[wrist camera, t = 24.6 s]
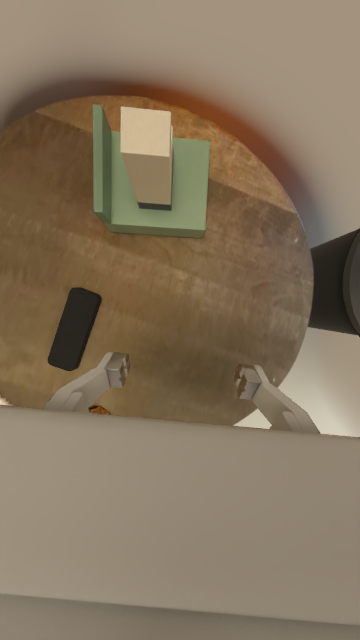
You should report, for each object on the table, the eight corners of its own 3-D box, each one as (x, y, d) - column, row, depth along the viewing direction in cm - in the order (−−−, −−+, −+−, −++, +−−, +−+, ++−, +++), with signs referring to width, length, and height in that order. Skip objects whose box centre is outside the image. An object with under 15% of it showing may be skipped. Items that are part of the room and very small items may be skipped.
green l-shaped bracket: (206, 159, 27) (215, 117, 21) (201, 238, 28) (209, 220, 22) (111, 150, 26) (92, 104, 20) (111, 232, 27) (93, 211, 21)
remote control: (78, 369, 30) (102, 295, 28) (72, 373, 28) (97, 295, 26) (53, 360, 29) (76, 285, 28) (45, 364, 28) (69, 284, 26)
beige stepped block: (171, 211, 24) (170, 156, 15) (139, 208, 24) (119, 152, 15) (173, 155, 24) (173, 63, 15) (140, 152, 23) (119, 57, 14)
